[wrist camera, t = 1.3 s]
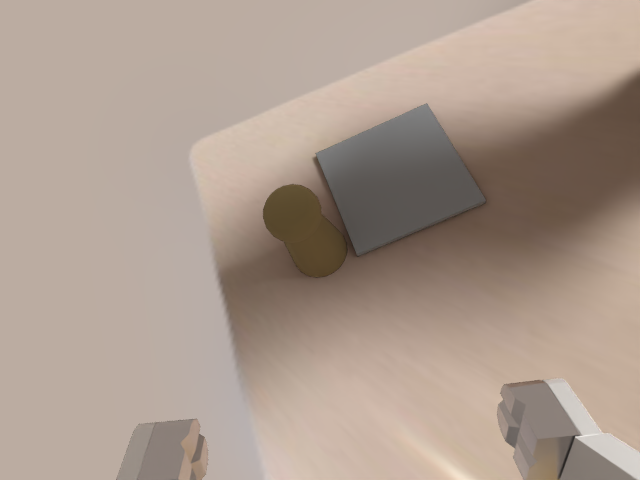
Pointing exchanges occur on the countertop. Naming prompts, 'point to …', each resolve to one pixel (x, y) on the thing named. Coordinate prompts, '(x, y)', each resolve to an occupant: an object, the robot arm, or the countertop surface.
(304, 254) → the olive chess pawn
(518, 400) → the robot arm
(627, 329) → the countertop surface
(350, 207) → the plate
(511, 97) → the countertop surface
